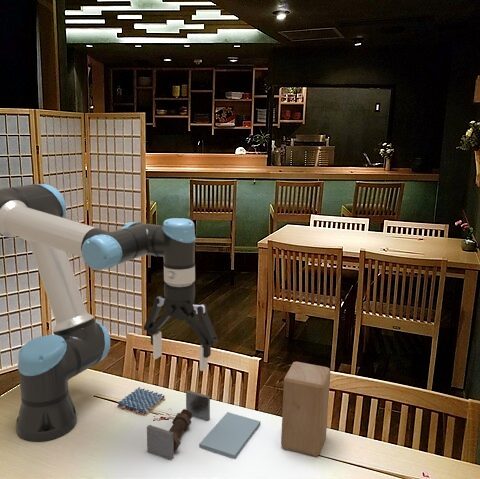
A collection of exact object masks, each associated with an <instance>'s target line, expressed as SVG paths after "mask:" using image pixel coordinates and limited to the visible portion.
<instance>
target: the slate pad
mask: <svg viewBox="0 0 480 479" xmlns="http://www.w3.org/2000/svg"><path fill="white" fill-rule="evenodd" d="M260 426H261V420H257V419H255V418H254V419H253V418H249V417H246V416H243V415H239V414H237V413H232V412H229V411H227V412H226V413H225V414H224V415H223V417H222V418H221V419H220V420H219V421H218V422H217V423H216V424H215V425H214V427H213V428H212V429H211V430H210V431H209V432H208V433H207V434H206V436H205V437H204V438H203V439H202V440H201V441H200V443H199V445H198V447H199V448H201V449H202V450H206V451H209V452H213V453H215V454H219V455H222V456H225V457H228V458H231V459H233V460H235V459H236V458H237V457H238V455H240V453H241V451H243V449H244V448H245V446H246V445H247V443H248V442H249V440H251V439H252V437H253V436H254V434H255V433H256V431H257V430H259V429H258V428H259V427H260Z"/></svg>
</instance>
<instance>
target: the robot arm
mask: <svg viewBox="0 0 480 479" xmlns="http://www.w3.org/2000/svg"><path fill="white" fill-rule="evenodd" d="M66 211H67V204H66V201H65V199H64V197H63V195H62V193H61V192H60V191H59V190H58V189H57V188H56V187H53V186H52V185H50V184H48V183H47V184H44V183H43V184H42V183H39V184H38V183H32V184H27V185H21V186H20V185H19V186H13V187H2V188H0V236H3V237H5V238H16V237H18V238H21V239H23V240H24V241H26V242H28V244H29V246H30V250H31V252H32V256H33V258H34V262H35V265H36V268H37V270H38V273H39V276H40V279H41V282H42V285H43V288H44V292H45V294H46V296H47V300H48V302H49V305H50V309H51V311H52V315H53V317H54V320H55V326H54V327H53V329H52V333H53V334H45V335H44V336H38V337H34V338H32V339H30V340H29V341H27V342H26V343H24V344H23V345H22V346H21V348H20V349H19V351H18V357H17V358H18V359H17V360H18V363H17V369H18V374H19V386H20V396H21V397H20V398H21V403H20V408H19V412H18V416H17V418H16V422H15V426H16V427H15V428H16V434H17V435H18V436H19V438H21V439H23V440H25V441H29V442H46V441H51V440H54V439H55V440H56V439H57V438H60V437H62V436H64V435H66V434H68V433H69V432H71V431H72V430H73V429H74V428H75V426H76V425H77V422H78V417H77V416H78V412H77V409H76V407H75V406H74V402H73V400H72V398H71V396H70V392H69V380H71V379H73V378H74V377H76V376H78V375H79V374H81V373H83V372H85V371H87V370H88V369H90V368H91V367H94V366H96V365H97V364H99V363H100V362H101V361H102V360H104V359H105V358H106V357H107V356H108V353H109V352H110V349H111V336H110V333H109V331H108V329H107V327H106V326H104V324H103V323H102V322H101V321H97V320H96V319H95V316H94V315H92V314H91V313H88V312H87V310H86V307H85V304H84V301H83V298H82V293H81V292H80V288H79V286H78V283H77V280H76V277H75V273H74V271H73V267H72V265H71V262H70V259H69V256H68V254H70V255H74V256H77V257H80V258H82V259H83V261H84V263H85V264H87V265H88V267H89V268H90V269H92V270H96V271H101V270H104V269H106V270H107V269H111V268H113V267H115V266H117V265H120V264H122V263H125V262H128V261H132V260H134V259H139V258H140V257H143V256H154V257H163V281H164V284H163V295H160V296H159V295H158V296H156V298H155V297H154V299H153V304H152V308H151V311H150V313H149V314H148V317H147V319H146V320H145V323H144V326H143V330H144V331H148V332H149V335H150V344H151V346H152V348H153V349H152V353H153V355H152V357H153V360H157V359H158V358H160V357H162V355H163V354H162V353H163V351H162V350H163V349H162V348H163V345H162V342H163V341H162V338H163V336H162V331H160V330H161V328H162V327H163V326H164V325H165V324H166V322H168V320H169V319H170V318H171V319H174V320H179V321H185V323H186V324H187V325H189V327H190V328H191V330H192V331H193V332H194V334H195V335H196V337H197V338H198V340H199V341H200V343H201V344H200V345H199V371H200V372H203V371H204V370H206V368H208V364H209V360H208V359H209V358H210V357H211V350H212V349H211V346H213V345H215V344H216V343H217V342H219V337H218V335H217V333H216V330H215V329H214V325H213V323H212V321H211V319H210V316H209V313H208V308H207V304H206V303H202V304H196V303H195V297H196V283H195V281H196V262H195V261H196V260H195V259H196V258H195V255H196V254H195V253H196V251H195V250H196V238H197V237H196V233H195V232H196V230H195V223H194V222H193V220H191V219H189V218H182V217H181V218H179V217H176V218H175V217H172V218H166V219H165V220H164V221H163V224H162V225H160V224H153V223H151V224H150V223H145V222H141V221H138V222H133V221H132V222H131V221H129V222H126V223H125V224H124V226H123V227H121V229H117V230H113V231H111V230H109V231H108V230H105V229H101V228H97V227H96V226H92V225H88V224H85V223H81V222H78V221H75V220H71V219H69V218H65V217H66ZM163 306H164V307H165V309H166V310H165V312H164V313H163V314H162V316H160V318H159V319H158V320H157V318H158V316H159V314H160V311H161V310H162V307H163ZM156 320H157V321H156Z"/></svg>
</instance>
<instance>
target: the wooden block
mask: <svg viewBox="0 0 480 479" xmlns="http://www.w3.org/2000/svg"><path fill="white" fill-rule="evenodd" d="M289 367H290V368H289V370H288V371H287V373H286V375H285V377H284V378H283V396H282V415H281V416H282V417H281V418H282V419H281V433H280V435H281V437H280V438H281V440H280V445H281V448H283V449H286V450H289V451H293V452H298V453H301V454H305V455H308V456H309V455H310V456H314V457H318V456H320V454H321V451H322V448H323V445H324V442H325V439H326V437H327V428H328V427H327V426H328V413H329V398H330V397H329V396H330V384H331V369H330V368H329V367H327V366H323V365H318V364H317V365H316V364H311V363H307V362H300V361H294V362H292V364H291V366H289Z"/></svg>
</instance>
